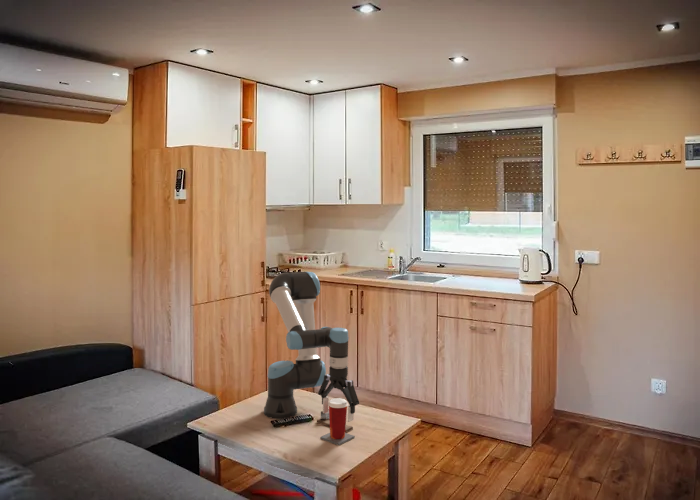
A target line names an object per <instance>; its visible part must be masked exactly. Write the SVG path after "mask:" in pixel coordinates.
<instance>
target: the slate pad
mask: <svg viewBox="0 0 700 500" xmlns="http://www.w3.org/2000/svg"><path fill="white" fill-rule="evenodd" d="M353 439H355V435H353V434H351V433H350V434H349V433H348V432H347V433H346V432H345V437H344V438H343V439H333V438H331V437H330V432H328V433H325V434H323V435H322V436H320V440H323V441H326V442H328V443H331V444H334V445H337V446H341V445H343V444H345V443H347V442H349V441H351V440H353Z"/></svg>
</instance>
